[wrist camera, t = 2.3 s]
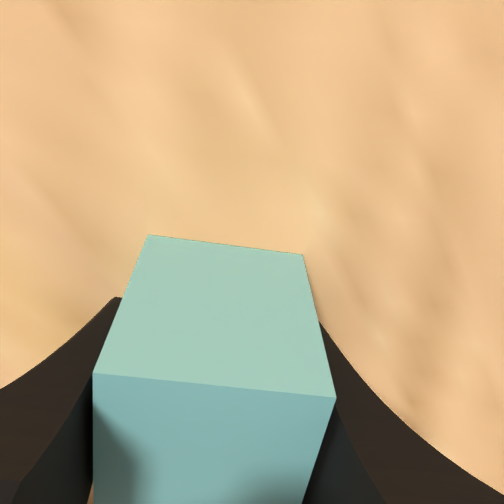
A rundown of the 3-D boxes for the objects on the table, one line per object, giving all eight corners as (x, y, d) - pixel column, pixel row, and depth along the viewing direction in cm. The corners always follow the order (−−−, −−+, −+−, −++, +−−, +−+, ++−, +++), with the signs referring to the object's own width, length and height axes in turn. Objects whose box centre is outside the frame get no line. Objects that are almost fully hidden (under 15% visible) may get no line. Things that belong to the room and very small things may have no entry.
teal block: (302, 254, 14) (336, 397, 9) (275, 370, 16) (290, 537, 11) (148, 234, 13) (92, 372, 8) (141, 355, 15) (93, 523, 10)
